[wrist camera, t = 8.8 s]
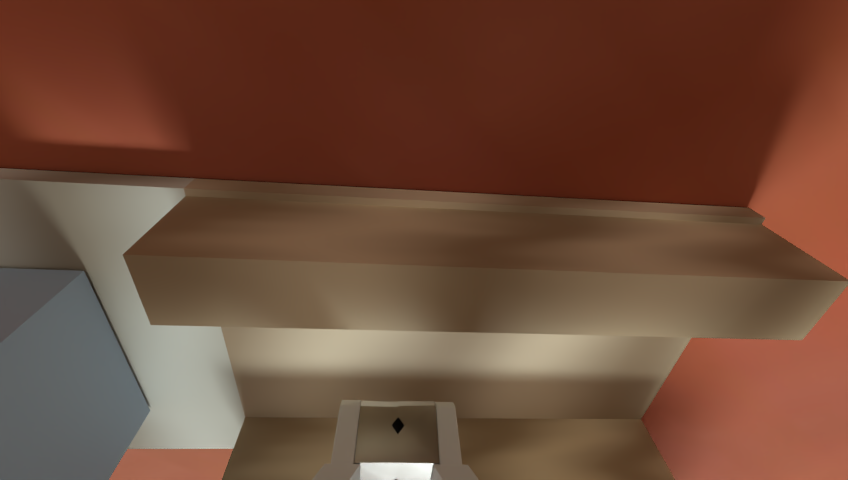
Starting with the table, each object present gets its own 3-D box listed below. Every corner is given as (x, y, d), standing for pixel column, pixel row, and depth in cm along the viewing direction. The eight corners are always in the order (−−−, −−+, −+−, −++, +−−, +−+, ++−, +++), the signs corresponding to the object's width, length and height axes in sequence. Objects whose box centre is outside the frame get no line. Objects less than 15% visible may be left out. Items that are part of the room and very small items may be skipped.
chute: (748, 207, 11) (856, 274, 8) (616, 434, 17) (656, 515, 14) (-162, 159, 9) (-390, 226, 6) (43, 433, 15) (-34, 526, 12)
